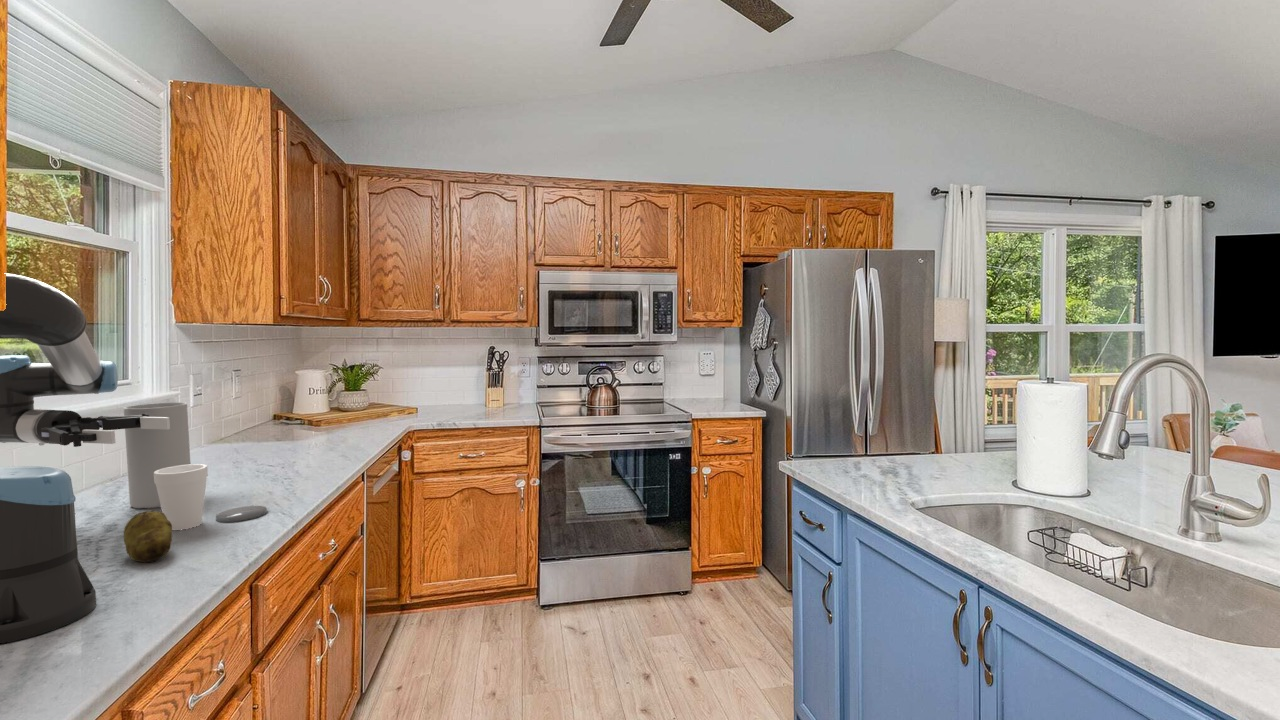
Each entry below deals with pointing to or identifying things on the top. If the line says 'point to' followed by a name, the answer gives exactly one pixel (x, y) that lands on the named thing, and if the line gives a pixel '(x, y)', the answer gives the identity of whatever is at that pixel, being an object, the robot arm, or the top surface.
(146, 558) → the potato
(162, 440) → the cylinder vase
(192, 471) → the foam cup
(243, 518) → the coaster
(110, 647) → the top surface
